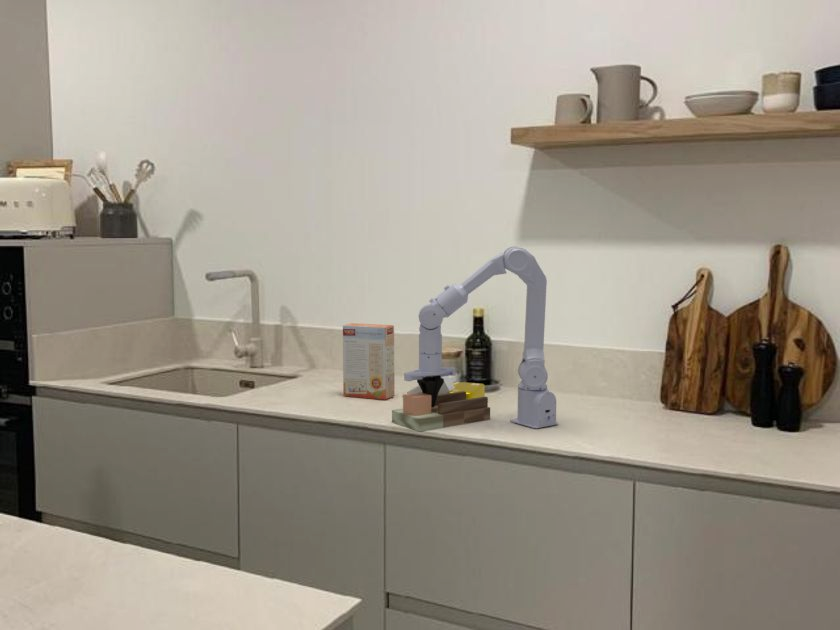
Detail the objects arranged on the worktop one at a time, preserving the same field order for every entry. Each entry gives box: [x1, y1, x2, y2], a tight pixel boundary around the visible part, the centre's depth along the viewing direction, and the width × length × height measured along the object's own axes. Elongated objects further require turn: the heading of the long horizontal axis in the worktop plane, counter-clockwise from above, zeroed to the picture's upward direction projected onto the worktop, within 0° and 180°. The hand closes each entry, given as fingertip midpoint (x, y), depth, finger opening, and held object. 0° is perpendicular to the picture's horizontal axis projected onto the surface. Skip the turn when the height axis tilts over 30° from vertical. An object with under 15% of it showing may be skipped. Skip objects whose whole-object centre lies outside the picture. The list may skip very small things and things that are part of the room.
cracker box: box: [342, 323, 395, 401], centre depth 239 cm, size 14×6×21 cm, turn 64°
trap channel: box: [391, 391, 491, 432], centre depth 210 cm, size 12×22×6 cm, turn 125°
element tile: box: [449, 380, 486, 399], centre depth 236 cm, size 15×15×5 cm
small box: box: [406, 376, 455, 395], centre depth 222 cm, size 8×6×10 cm
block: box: [402, 392, 431, 416], centre depth 206 cm, size 5×5×4 cm
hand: (430, 406), depth 208 cm, fingers closed
